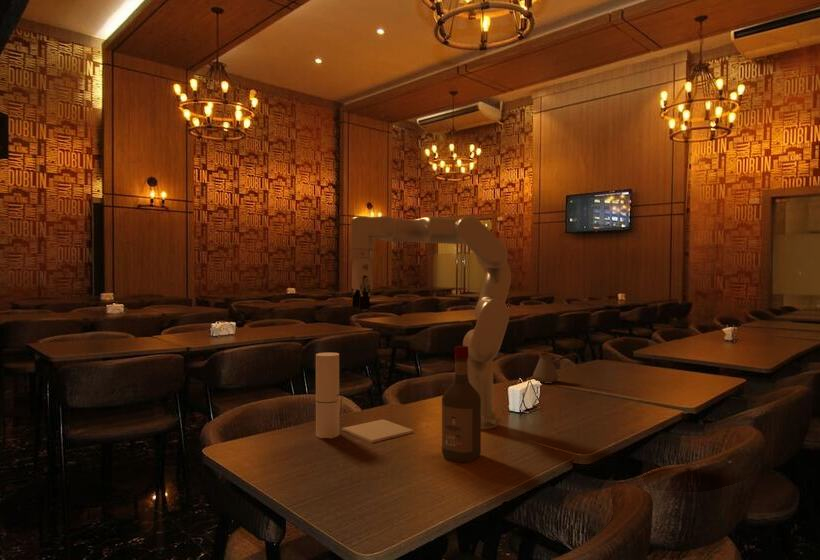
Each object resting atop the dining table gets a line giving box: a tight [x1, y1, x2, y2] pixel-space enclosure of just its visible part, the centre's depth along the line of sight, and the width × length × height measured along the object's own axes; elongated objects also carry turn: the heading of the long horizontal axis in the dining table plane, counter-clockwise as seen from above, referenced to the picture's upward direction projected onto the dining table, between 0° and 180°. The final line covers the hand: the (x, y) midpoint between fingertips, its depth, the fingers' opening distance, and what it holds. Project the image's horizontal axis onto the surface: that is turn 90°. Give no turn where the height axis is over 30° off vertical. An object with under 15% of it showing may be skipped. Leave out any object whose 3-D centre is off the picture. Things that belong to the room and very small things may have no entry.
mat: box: [342, 418, 415, 444], centre depth 169 cm, size 16×16×1 cm
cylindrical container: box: [315, 352, 340, 439], centre depth 165 cm, size 7×7×25 cm
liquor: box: [441, 345, 482, 464], centre depth 146 cm, size 9×9×30 cm
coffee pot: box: [532, 352, 579, 384], centre depth 242 cm, size 21×12×15 cm, turn 45°
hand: (360, 307), depth 174 cm, fingers open, 9 cm apart
